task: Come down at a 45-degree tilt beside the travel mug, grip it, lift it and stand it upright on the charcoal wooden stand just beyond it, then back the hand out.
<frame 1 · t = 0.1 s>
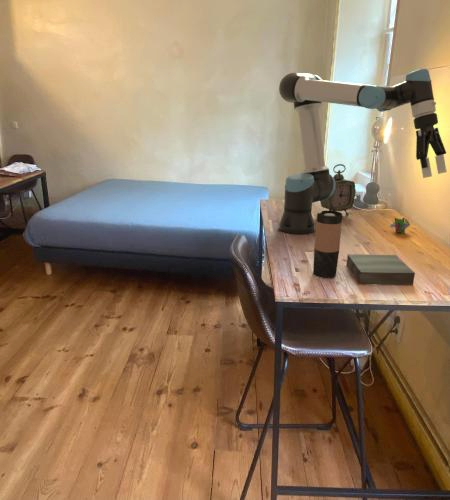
hand: (435, 175, 151), 28 cm above the table, tool tilted 20°, fingers open, 13 cm apart
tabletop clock: (334, 216, 208), on the table
stand: (377, 274, 136), on the table
geometric puzzle: (398, 233, 181), on the table
travel mug: (324, 274, 136), on the table
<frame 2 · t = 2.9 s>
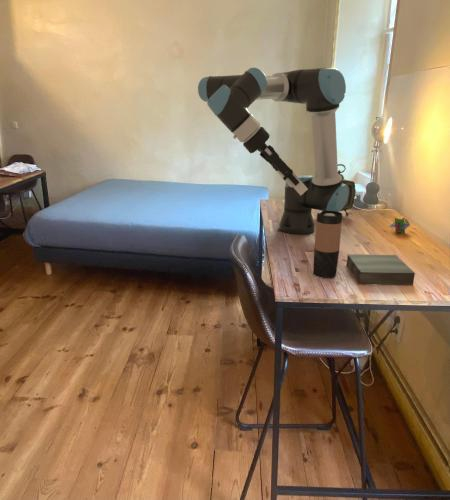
hand: (299, 188, 127), 28 cm above the table, tool tilted 45°, fingers open, 13 cm apart
nothing on the table moved.
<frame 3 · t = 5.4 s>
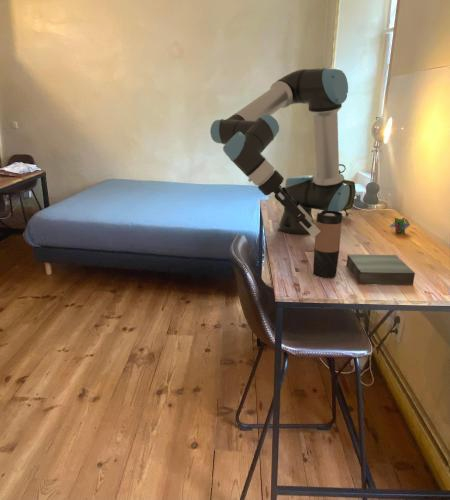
hand: (313, 227, 130), 16 cm above the table, tool tilted 45°, fingers open, 13 cm apart
nothing on the table moved.
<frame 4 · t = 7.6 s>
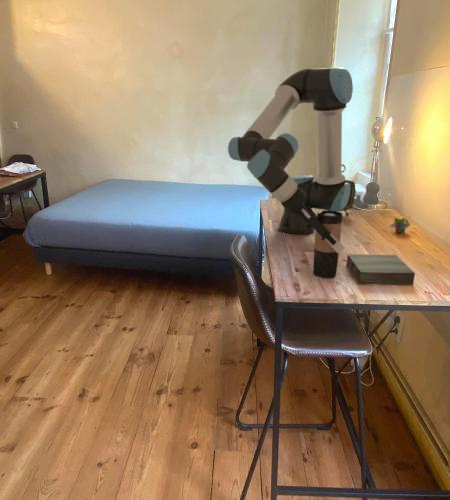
hand: (337, 245, 133), 10 cm above the table, tool tilted 45°, fingers closed on travel mug, 7 cm apart
travel mug: (324, 274, 136), on the table, touching gripper
everything else where it was.
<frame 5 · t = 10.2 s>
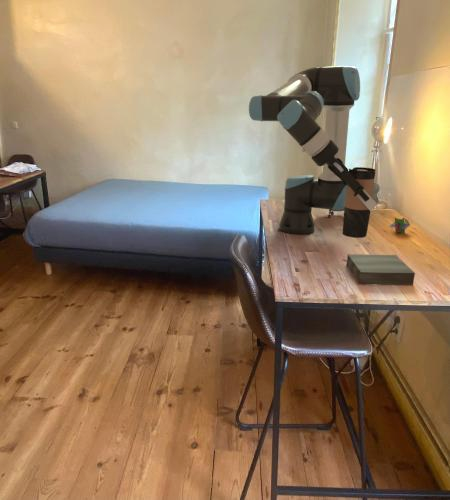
hand: (369, 204, 127), 23 cm above the table, tool tilted 45°, fingers closed on travel mug, 7 cm apart
travel mug: (354, 235, 131), point 13 cm above the table, touching gripper
everything else where it was.
when the fingers open (15 cm above the table, at t = 13.1 s): travel mug drops 2 cm, resting on stand.
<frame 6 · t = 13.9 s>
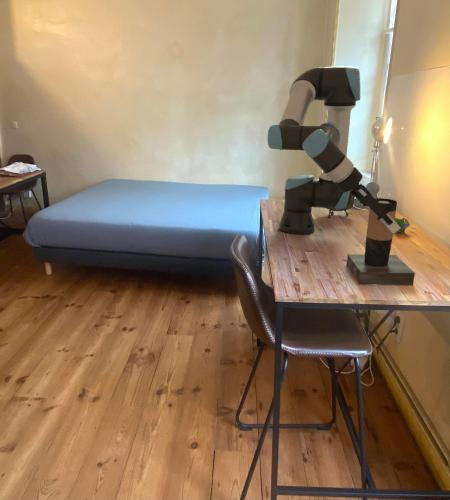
hand: (388, 224, 130), 17 cm above the table, tool tilted 45°, fingers open, 13 cm apart
travel mug: (375, 263, 135), point 4 cm above the table, touching stand
everything else where it was.
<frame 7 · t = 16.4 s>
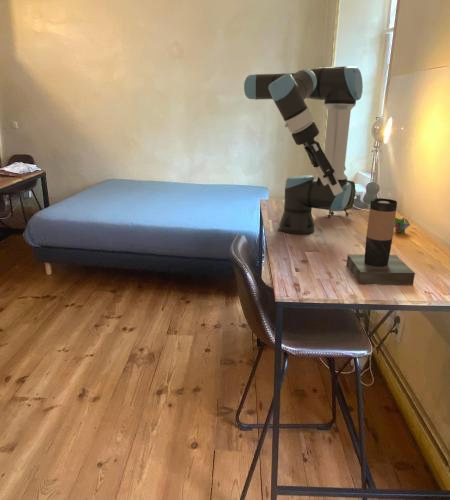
hand: (332, 188, 132), 27 cm above the table, tool tilted 30°, fingers open, 13 cm apart
nothing on the table moved.
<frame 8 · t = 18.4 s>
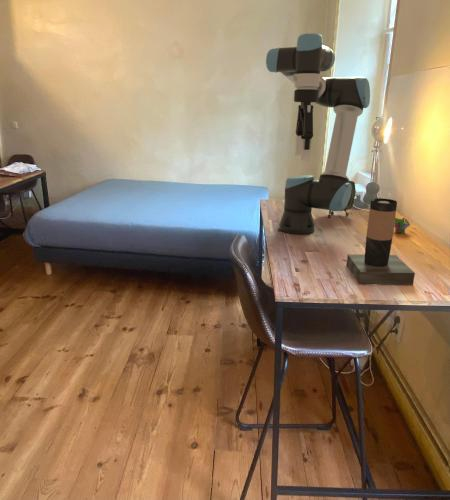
hand: (302, 157, 140), 35 cm above the table, tool pointing down, fingers open, 13 cm apart
nothing on the table moved.
at the end: travel mug inside the target area on the stand (1.1 cm from its centre), point 3.8 cm above the stand's base; travel mug tilted 0°; the gripper is holding nothing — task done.
